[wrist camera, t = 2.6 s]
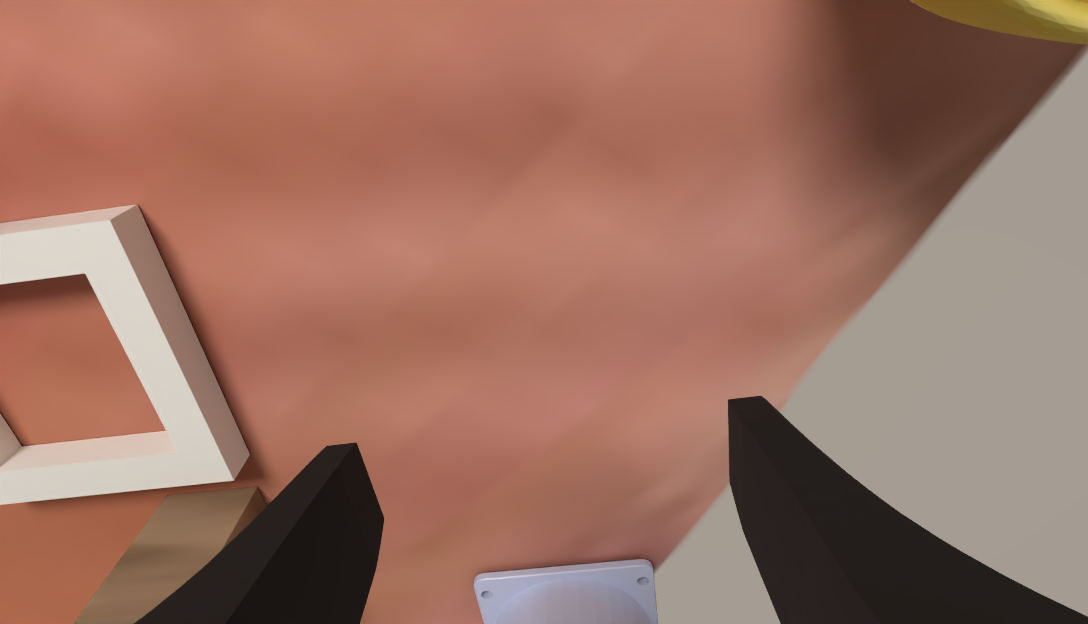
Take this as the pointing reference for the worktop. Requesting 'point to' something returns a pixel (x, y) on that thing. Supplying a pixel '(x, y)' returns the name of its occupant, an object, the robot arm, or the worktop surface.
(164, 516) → the brown block
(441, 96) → the worktop surface
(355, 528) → the robot arm
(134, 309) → the white square frame
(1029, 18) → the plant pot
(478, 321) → the worktop surface
